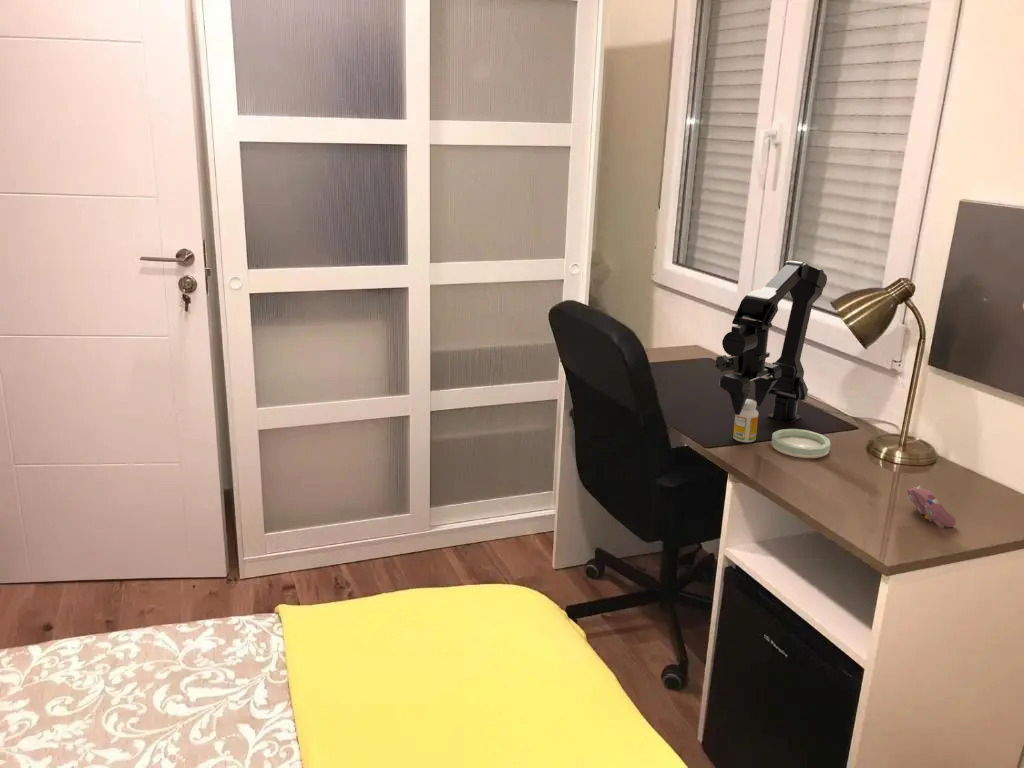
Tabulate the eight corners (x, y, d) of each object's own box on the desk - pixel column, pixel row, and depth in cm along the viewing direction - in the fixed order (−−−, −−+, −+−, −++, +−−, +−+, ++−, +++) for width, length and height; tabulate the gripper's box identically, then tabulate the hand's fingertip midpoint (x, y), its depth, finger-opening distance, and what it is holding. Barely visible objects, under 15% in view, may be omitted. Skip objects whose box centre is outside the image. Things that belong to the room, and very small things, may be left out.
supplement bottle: (753, 435, 204) (757, 398, 201) (757, 443, 199) (761, 405, 196) (731, 434, 204) (735, 397, 201) (734, 442, 199) (738, 404, 196)
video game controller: (909, 513, 168) (899, 485, 166) (930, 503, 167) (921, 475, 165) (937, 536, 158) (926, 507, 156) (959, 526, 158) (949, 497, 156)
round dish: (788, 433, 205) (789, 425, 204) (838, 448, 196) (840, 439, 196) (761, 446, 197) (762, 438, 196) (812, 462, 188) (813, 453, 187)
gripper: (745, 334, 206) (739, 393, 211) (702, 348, 194) (697, 410, 199) (786, 343, 198) (778, 404, 203) (744, 358, 186) (737, 422, 191)
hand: (747, 410), depth 199 cm, fingers open, 9 cm apart
